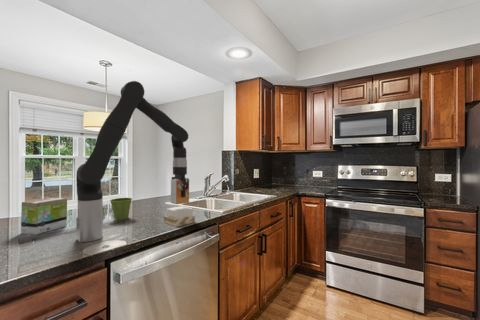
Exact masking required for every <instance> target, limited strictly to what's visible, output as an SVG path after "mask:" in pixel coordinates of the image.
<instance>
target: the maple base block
mask: <svg viewBox="0 0 480 320" xmlns="http://www.w3.org/2000/svg"><path fill="white" fill-rule="evenodd" d="M195 218H196V216H195V215H193V216H189V217H185V218H180V219H175V218H172V217H168V216H167V215H164V216H163V223H165V224H167V225H170V226H172V227H175V228H176V227H179V226H185V225H188V224H192V223H193V224H194V223H195V221H196V219H195Z"/></svg>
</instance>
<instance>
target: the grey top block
mask: <svg viewBox="0 0 480 320" xmlns="http://www.w3.org/2000/svg"><path fill="white" fill-rule="evenodd" d="M193 211H194V210H193V208H192V207H188V206H184V205H183V206H182V205H181V206H175V207H169V208H166V216H168V217H172V218H175V219H180V218H185V217H189V216H194V212H193Z"/></svg>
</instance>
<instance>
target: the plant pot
mask: <svg viewBox="0 0 480 320" xmlns="http://www.w3.org/2000/svg"><path fill="white" fill-rule="evenodd" d="M132 200H133V198H132V197H118V198H112V199H110V200H109V202H110V205H111V207H112V212H113V217H114V219H115V221H122V220H127V219H129V215H130V209H131V203H132Z"/></svg>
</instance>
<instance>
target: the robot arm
mask: <svg viewBox="0 0 480 320" xmlns="http://www.w3.org/2000/svg"><path fill="white" fill-rule="evenodd" d="M144 96H145V89H144V86H143V84H142V83H141V82H139V81H136V80H131V81H128V82H126V83H125V84H124V85H123V86H122V87H121V88H120V98H119V100H118V103H117V104H116V106H115V107H114V109H112V110H111V112H110V113H109V114H108V116H107V118H106V119H105V121H104V122H103V124H102V126H101V127H100V130H99V132H98V133H97V137H96V140H95V145H94V148H93V150H92V151H91V154H89V156H88V159H87V160H86V161H85V163H82V164H80V165H79V167H78V168H77V170H76V195H77V216H76V222H75V224H76V226H75V227H76V228H75V230H76V236H75V237H76V239H75V240H76V241H77V242H79V243H87V242H88V243H89V242H94V241H99V240H101V239H102V238H104V237H103V234H104V231H103V229H104V228H103V227H104V225H103V223H104V222H103V219H104V218H103V215H104V214H103V213H104V211H103V204H104V203H103V202H104V201H103V196H104V195H103V191H102V184H101V183H102V179H103V178H104V176H105V174H106V171H107V167H108V165H109V162H110V161H111V158H112V156H113V154H114V153H115V150H116V149H117V147H118V146H119V144H120V142H121V141H122V138H123V136H124V134H125V132H126V130H127V128H128V126H129V123H130V121H131V119H132V116H133V114H134V112H135V110H136V109H137V110H138V111H140V112H141V113H143V114H144V115H145V116H146V117H148V118H149V119H150V120H152V122H154V123H155V124H156V125H157V126H158V127H159V128H160V129H162V130H163V131H164V132H166V133H169V134H171V137H170V139H171V146H172V149H173V150H172V153H173V154H172V156H173V157H172V158H173V160H172V176H171V180H173V179H176V180H181V182H182V181H183V180H184V181H183V184H180V186H181V197H185V191H186V189H188V183H189V184H190V179H189V177H186V175H187V174H188V160H187V148H186V147H185V146H184V143H185V142H187V141H188V139H189V133H188V131H187V130H186V129H185V128H183V127H182V126H180V125H179V124H178V123H177V122H174V121H173V119H172V118H170V116H168V115H167V114H166V113H165V112H164V111H162V110H160V109H159V108H158V107H155V106H154V105H152V104H151V103H150V102H149V101H148V100H147V99H146V98H144Z"/></svg>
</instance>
